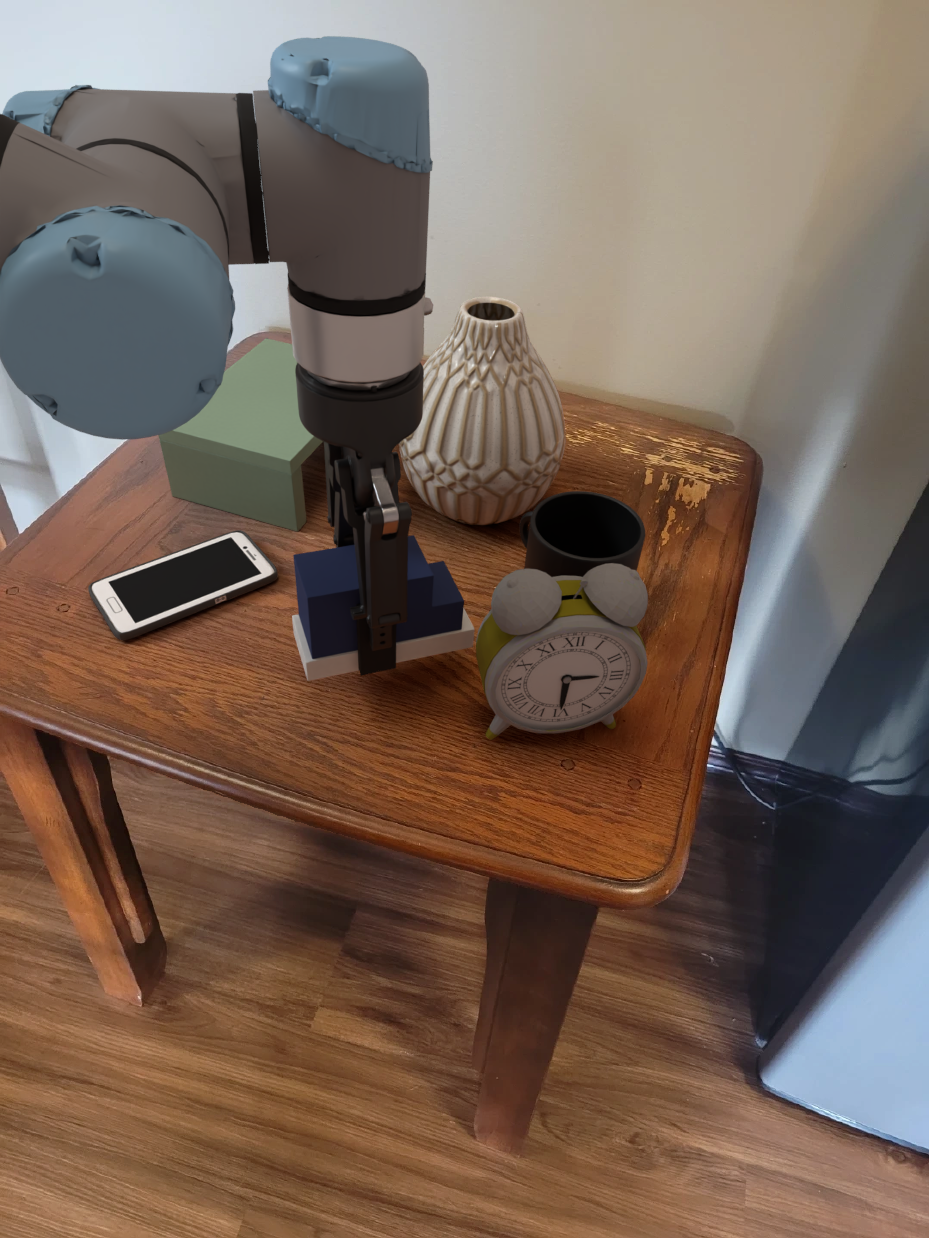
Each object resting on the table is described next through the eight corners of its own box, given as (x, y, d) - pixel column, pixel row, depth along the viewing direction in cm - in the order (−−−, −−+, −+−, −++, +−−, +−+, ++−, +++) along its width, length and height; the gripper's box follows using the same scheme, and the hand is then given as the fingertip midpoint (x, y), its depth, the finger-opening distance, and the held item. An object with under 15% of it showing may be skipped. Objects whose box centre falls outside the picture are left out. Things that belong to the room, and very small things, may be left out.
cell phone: (86, 592, 73) (83, 584, 73) (243, 535, 80) (242, 526, 79) (119, 645, 69) (116, 637, 68) (282, 580, 76) (281, 572, 75)
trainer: (307, 681, 62) (300, 601, 57) (293, 633, 66) (285, 553, 60) (473, 647, 66) (481, 568, 61) (451, 604, 70) (457, 526, 64)
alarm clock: (479, 756, 63) (494, 608, 53) (465, 687, 68) (476, 539, 57) (629, 742, 65) (673, 596, 54) (606, 676, 69) (641, 530, 59)
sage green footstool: (172, 496, 84) (155, 425, 79) (273, 403, 98) (265, 338, 92) (297, 532, 81) (290, 461, 76) (384, 431, 95) (383, 364, 89)
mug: (551, 544, 82) (563, 464, 75) (647, 610, 75) (669, 529, 69) (478, 584, 77) (485, 503, 71) (575, 659, 71) (592, 577, 64)
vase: (419, 447, 93) (422, 262, 79) (563, 469, 91) (592, 284, 77) (380, 534, 81) (375, 336, 68) (544, 561, 80) (574, 364, 66)
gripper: (473, 433, 44) (451, 718, 60) (380, 291, 57) (382, 560, 73) (332, 452, 42) (348, 742, 58) (267, 301, 55) (295, 575, 71)
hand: (367, 641), depth 65 cm, fingers closed on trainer, 5 cm apart
